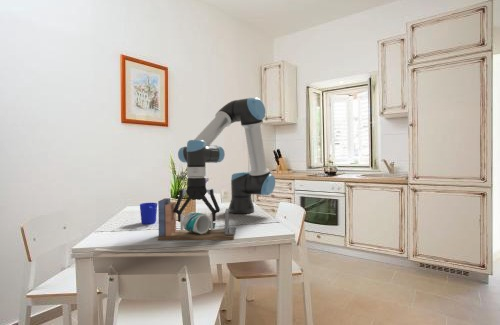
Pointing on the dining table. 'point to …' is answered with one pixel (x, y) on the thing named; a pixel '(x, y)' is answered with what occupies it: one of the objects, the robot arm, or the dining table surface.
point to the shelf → (170, 233)
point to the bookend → (228, 230)
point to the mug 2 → (197, 223)
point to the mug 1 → (148, 213)
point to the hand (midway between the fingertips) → (197, 229)
